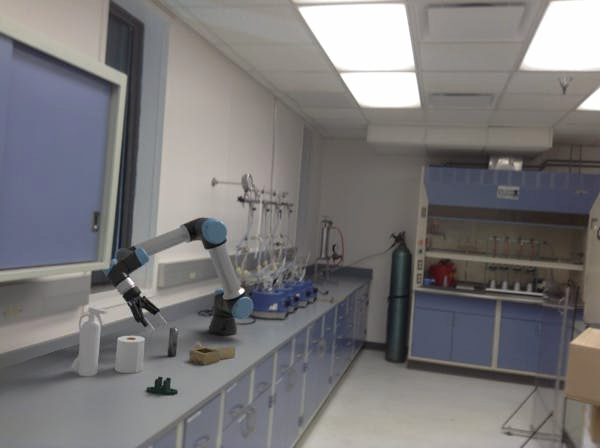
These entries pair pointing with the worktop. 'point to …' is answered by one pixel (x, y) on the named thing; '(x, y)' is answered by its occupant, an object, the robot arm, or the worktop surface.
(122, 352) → the toilet paper
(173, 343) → the hinge pin
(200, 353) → the tan piece
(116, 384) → the worktop surface
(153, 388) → the mount
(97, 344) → the fire extinguisher
